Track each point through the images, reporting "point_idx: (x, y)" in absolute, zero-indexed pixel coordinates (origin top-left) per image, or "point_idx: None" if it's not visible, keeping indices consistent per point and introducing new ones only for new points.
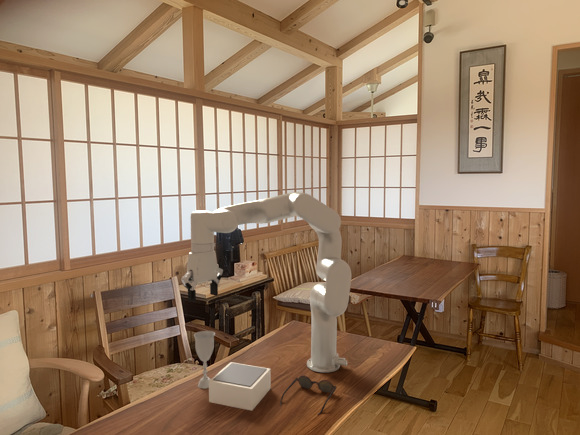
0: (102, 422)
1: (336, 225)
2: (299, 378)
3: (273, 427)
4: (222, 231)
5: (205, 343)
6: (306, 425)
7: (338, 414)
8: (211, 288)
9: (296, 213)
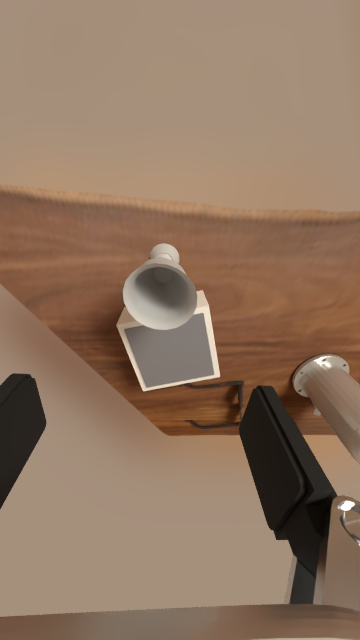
0: None
1: None
2: (241, 389)
3: (133, 401)
4: None
5: (144, 310)
6: (159, 421)
7: (198, 432)
8: (271, 442)
9: None
